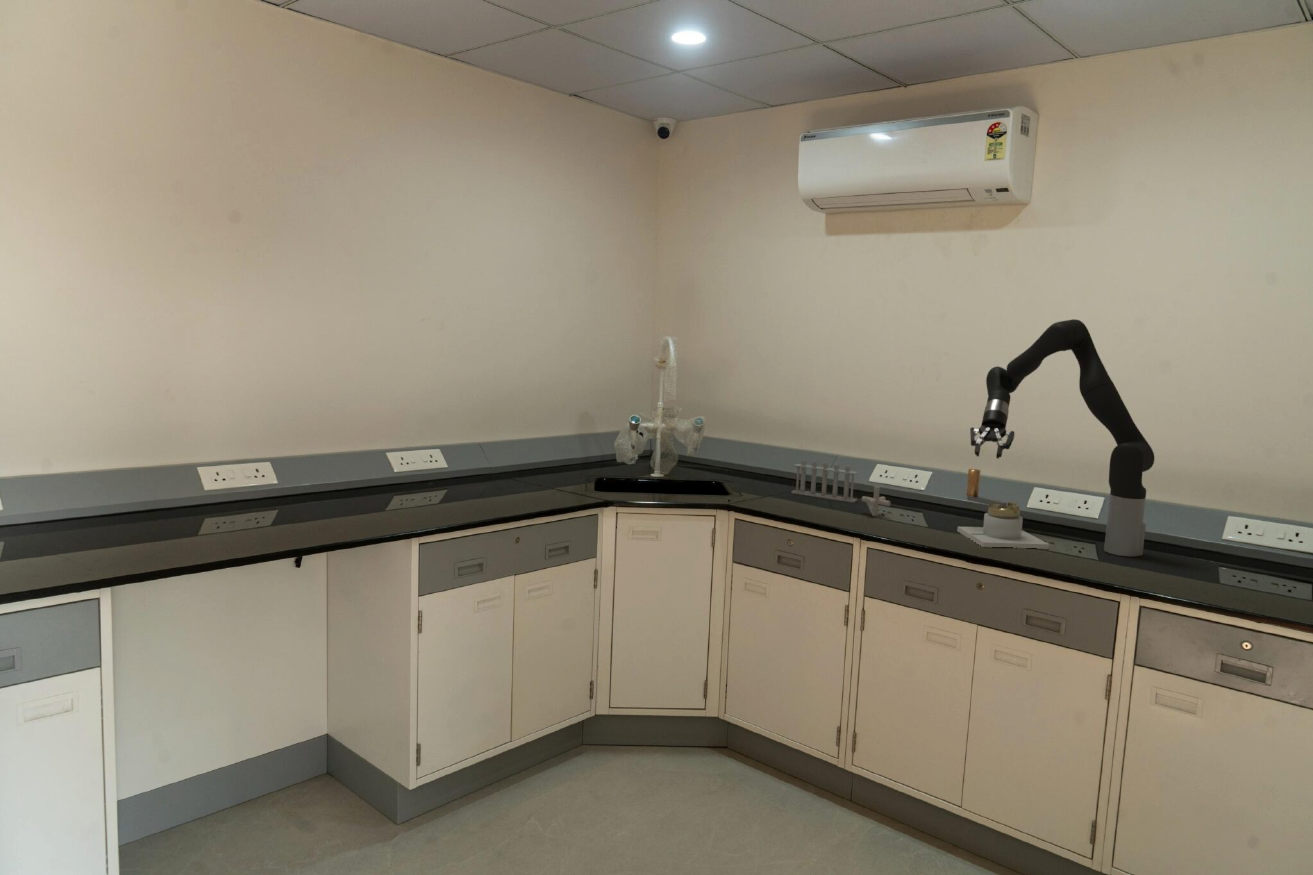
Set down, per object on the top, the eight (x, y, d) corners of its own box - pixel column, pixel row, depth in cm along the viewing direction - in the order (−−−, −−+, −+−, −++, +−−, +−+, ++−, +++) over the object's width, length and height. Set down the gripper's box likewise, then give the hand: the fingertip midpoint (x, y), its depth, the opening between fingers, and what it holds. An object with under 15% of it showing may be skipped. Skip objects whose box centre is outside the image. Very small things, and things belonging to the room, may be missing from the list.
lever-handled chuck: (1025, 516, 262) (1029, 477, 260) (1007, 519, 257) (1010, 479, 255) (975, 505, 277) (979, 468, 275) (957, 507, 272) (960, 469, 271)
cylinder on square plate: (1018, 532, 274) (1020, 510, 273) (1048, 549, 254) (1051, 524, 253) (957, 531, 274) (959, 508, 273) (982, 547, 254) (984, 522, 253)
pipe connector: (895, 515, 293) (897, 487, 292) (881, 519, 286) (883, 490, 284) (869, 510, 300) (871, 482, 298) (854, 514, 292) (856, 486, 291)
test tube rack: (857, 501, 317) (859, 466, 315) (852, 502, 313) (854, 467, 311) (796, 491, 331) (798, 458, 329) (791, 493, 327) (793, 459, 326)
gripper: (972, 407, 284) (963, 446, 275) (1018, 410, 277) (1011, 451, 268) (973, 421, 289) (964, 460, 280) (1018, 425, 282) (1011, 465, 273)
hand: (987, 455), depth 274 cm, fingers open, 5 cm apart
